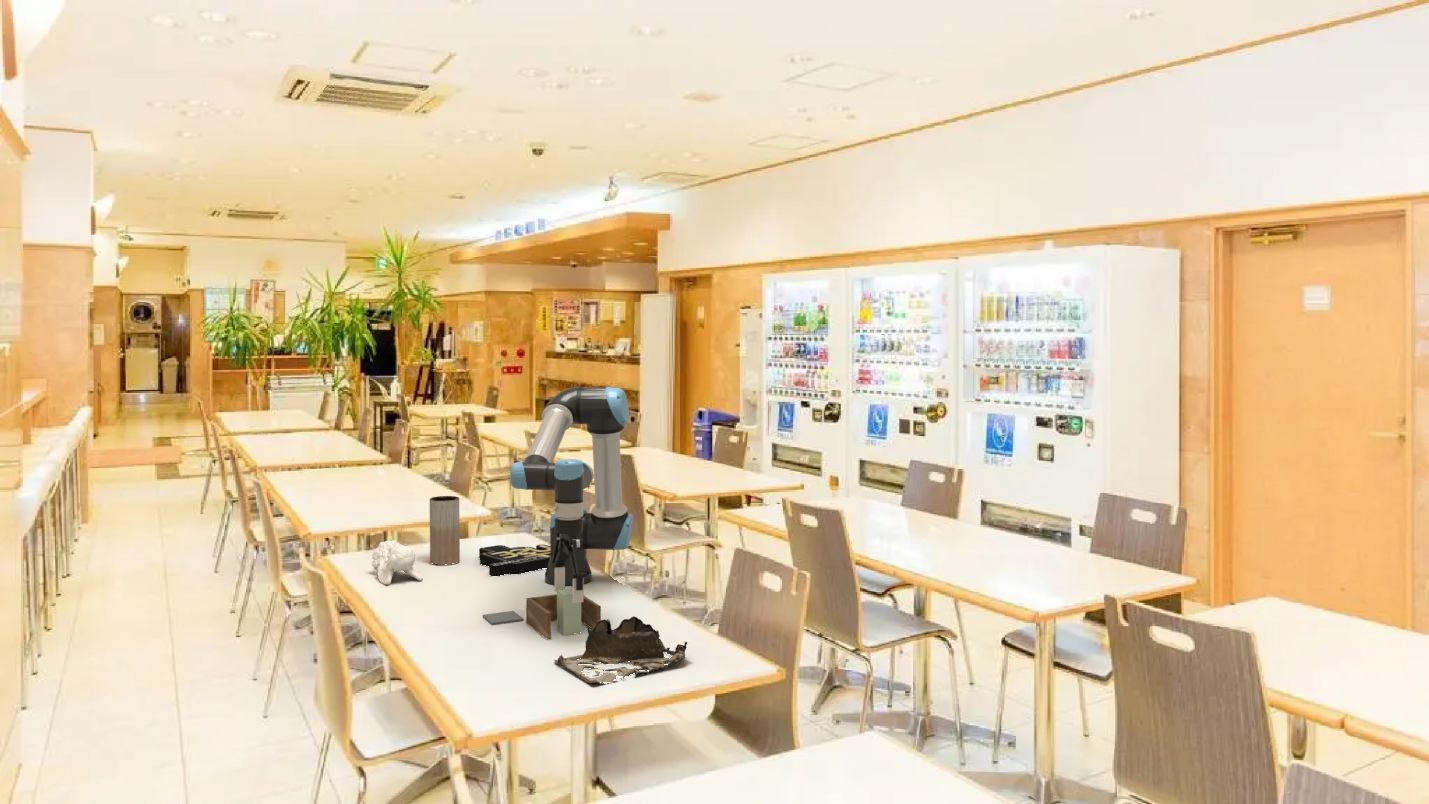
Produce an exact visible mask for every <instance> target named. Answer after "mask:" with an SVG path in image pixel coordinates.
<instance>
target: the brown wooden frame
mask: <svg viewBox="0 0 1429 804" xmlns="http://www.w3.org/2000/svg"><path fill="white" fill-rule="evenodd" d="M525 600H526V601H525V602H526V603H525V604H526V605H525V606H526V607H525V608H526V609H525V613H526V624H527V625H528V626H529V627H530V628H532V629H533V630H535V631H536V632H537V633H538V632H539V633H538V634H539V635H541V636H542V635H543V636H544V637H543V636H542V637H543V638H545V639H546V638H547V639H549V640H552V622H553V621H557V593H556V594H550V595H549V594H547V595H541V596H534V597H533V596H532V597H527V598H526V599H525ZM601 612H602V606H601V605H599V604H598V603H596V602H595V601H593V600H592V599H590V598H589V597H587V596H585V595H584V594H583V602H581V623H583V624H584V623H585V625H586V626H587V627H589V626H590V627H591V628H590V627H589V628H590V629H591V630H592V629H594V628H595V626H596V624H597V623H598V622H599V621H601V620H602V613H601ZM552 620H553V621H552ZM547 639H546V640H547Z"/></svg>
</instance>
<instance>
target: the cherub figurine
mask: <svg viewBox="0 0 1429 804" xmlns="http://www.w3.org/2000/svg"><path fill="white" fill-rule="evenodd" d="M371 557H372V558H371V559H372V560H373V561H372V562H371V566H372V567H373V570H375V571H377V576H378V580H379V582H380V583H381V584H382V585H383V584H384V585H391V583H392V578H393V576H394V574H395V571H397V572H401V571H403V572H404V573H405V574H406V575H407V576H410V577H412V578H414V579H416V580H418V581H419V582H421V581H423V579H424V577H423V576H422V575H421V573H419V572H418V571H417V570H416V569H415V567H414V564H415V563H416V562H415V561H416V554H415V550H414V549H413V548H412V547H409V546H405V545H403V544H401V543H400V542H398V541H396V540H391V541H390V540H386V541H380V543H379V544H378V546H377V548H375V549H374V551H373V552H372V554H371Z"/></svg>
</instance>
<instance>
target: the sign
mask: <svg viewBox="0 0 1429 804" xmlns="http://www.w3.org/2000/svg"><path fill="white" fill-rule="evenodd" d="M478 554H479V556H478V557H479V558H480V559H479V558H478V559H479V565H480V564H482V565H481V566H483V565H486V566H489V567H488V574H489V575H491V576H490V577H492V576H498V577H501V576H500V575H503V576H505V575H504V574H508V575H511V574H518V575H522V574H521V573H524V574H526V573H525V572H529V571H534V572H536V571H535V570H538V569H542V568H547V566H548V563H549V560H550V545H548V544H537V545H535V547H532V546H514V547H509V546H506V545H502V544H498V545H491V546H484V547H480V548H479V549H478ZM486 566H485V567H486ZM529 573H530V572H529Z"/></svg>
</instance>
